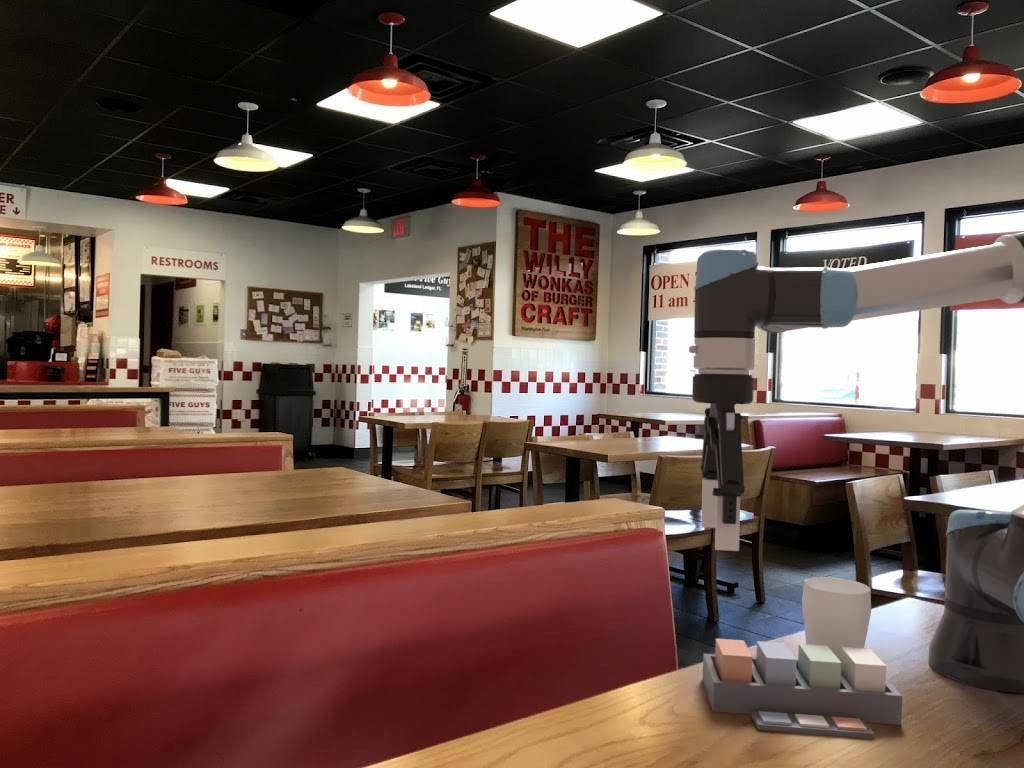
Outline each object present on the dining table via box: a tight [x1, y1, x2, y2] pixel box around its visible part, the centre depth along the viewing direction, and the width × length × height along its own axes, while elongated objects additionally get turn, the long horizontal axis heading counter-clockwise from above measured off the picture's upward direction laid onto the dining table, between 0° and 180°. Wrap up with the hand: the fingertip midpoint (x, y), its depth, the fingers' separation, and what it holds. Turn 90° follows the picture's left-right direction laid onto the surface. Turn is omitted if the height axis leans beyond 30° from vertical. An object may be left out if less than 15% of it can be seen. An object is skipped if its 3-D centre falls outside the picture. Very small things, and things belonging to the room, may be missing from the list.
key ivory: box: [840, 647, 887, 692], centre depth 100 cm, size 4×6×4 cm, turn 174°
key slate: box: [755, 640, 798, 686], centre depth 101 cm, size 4×6×4 cm, turn 174°
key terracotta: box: [714, 638, 753, 683], centre depth 102 cm, size 4×6×4 cm, turn 174°
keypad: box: [702, 653, 903, 726], centre depth 101 cm, size 22×10×4 cm, turn 84°
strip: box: [751, 711, 875, 740], centre depth 94 cm, size 13×4×1 cm, turn 84°
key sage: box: [797, 643, 841, 689], centre depth 101 cm, size 4×6×4 cm, turn 174°
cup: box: [801, 576, 872, 661], centre depth 112 cm, size 9×9×12 cm
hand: (718, 538), depth 102 cm, fingers open, 13 cm apart
